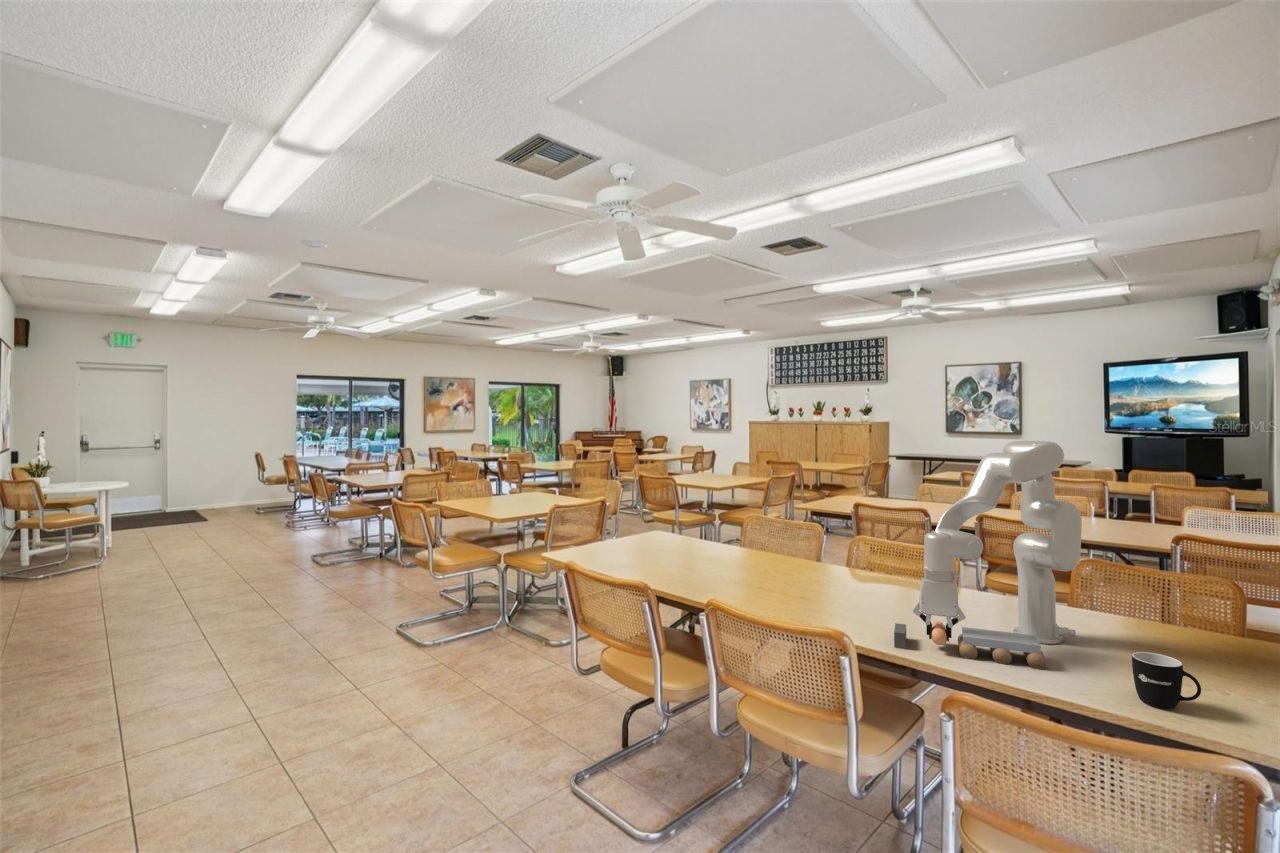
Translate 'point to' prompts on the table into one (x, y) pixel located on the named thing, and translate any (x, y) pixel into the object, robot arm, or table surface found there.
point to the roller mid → (1001, 655)
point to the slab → (1001, 640)
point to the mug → (1160, 679)
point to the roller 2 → (966, 649)
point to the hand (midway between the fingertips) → (938, 638)
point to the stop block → (900, 636)
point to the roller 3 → (1036, 660)
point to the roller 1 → (939, 633)
